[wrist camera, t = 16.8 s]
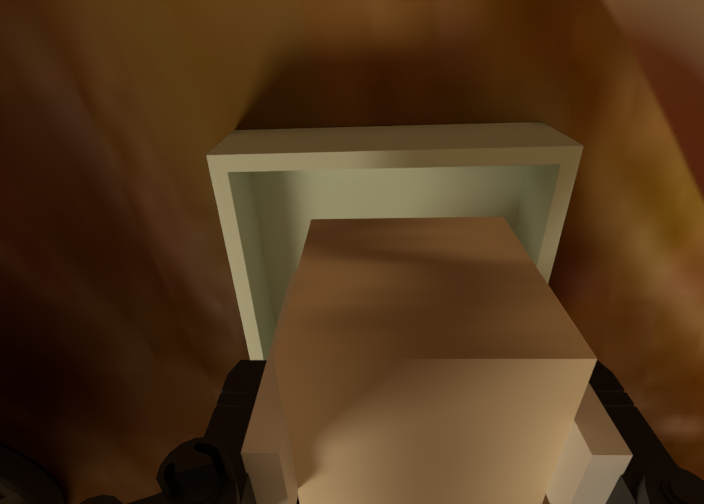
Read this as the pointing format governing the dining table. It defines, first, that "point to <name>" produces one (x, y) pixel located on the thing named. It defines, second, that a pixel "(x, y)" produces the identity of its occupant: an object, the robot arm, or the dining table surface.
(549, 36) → the dining table surface
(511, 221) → the tray
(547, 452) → the beech block
